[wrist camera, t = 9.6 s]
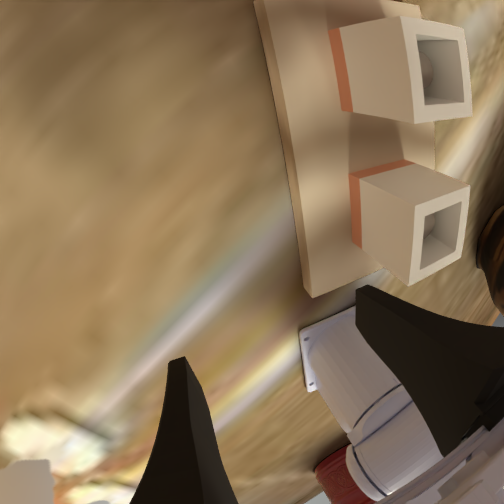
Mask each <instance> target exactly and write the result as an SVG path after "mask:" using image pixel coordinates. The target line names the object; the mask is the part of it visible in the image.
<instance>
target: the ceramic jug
mask: <svg viewBox="0 0 504 504" xmlns="http://www.w3.org/2000/svg"><path fill="white" fill-rule="evenodd" d="M476 263H477V268H479V269H482V270H483V271H484V273H485V276H486V280H487V283H488V287H489V291H490V294H491V298H492V300H493V302H494V304H495V306H496V307H497V308H498V309H499V311H500V312H501V313H502V315H503V316H504V205H503V206H502V207H500V208H499V209H497V210H496V211H495V213H494V214H493V216H492V217H491V219H490V221H489V222H488V224H487V226H486V227H485V229H484V231H483V232H482V234H481V236H480V238H479V245H478V252H477V256H476Z"/></svg>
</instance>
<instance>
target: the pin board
mask: <svg viewBox="0 0 504 504" xmlns="http://www.w3.org/2000/svg"><path fill="white" fill-rule="evenodd" d="M253 4H254V8H255V12H256V16H257V21H258V25H259V30H260V34H261V39H262V43H263V48H264V52H265V57H266V62H267V67H268V72H269V76H270V81H271V86H272V92H273V97H274V102H275V107H276V112H277V118H278V123H279V129H280V134H281V140H282V145H283V151H284V157H285V163H286V169H287V175H288V181H289V187H290V194H291V200H292V207H293V213H294V220H295V227H296V234H297V241H298V248H299V255H300V263H301V270H302V278H303V286H304V289H305V290H306V291H307V292H308V293H309V295H310V296H311V297H312V298H315V297H318V296H320V295H322V294H325V293H327V292H330V291H332V290H334V289H337V288H339V287H341V286H344V285H346V284H348V283H351V282H353V281H355V280H358V279H360V278H362V277H364V276H367V275H369V274H371V273H373V272H376V271H378V270H380V269H382V268H385V267H383V266H382V265H381V264H380V263H378V262H377V261H376V260H375V259H373V258H372V257H371V256H370V255H368V254H367V253H366V252H365V251H363V250H362V249H361V248H359V247H358V246H357V245H356V244H354V243H353V242H352V224H351V205H350V190H349V178H348V174H349V173H353V172H356V171H360V170H364V169H368V168H371V167H375V166H379V165H383V164H387V163H391V162H395V161H399V160H403V159H405V160H408V161H411V162H414V163H416V164H419V165H422V166H424V167H427V168H430V169H432V170H435V131H434V121H432V122H425V123H418V124H412V123H408V122H403V121H398V120H393V119H388V118H383V117H378V116H372V115H366V114H360V113H354V112H347V111H342V110H341V103H340V96H339V90H338V83H337V77H336V71H335V66H334V60H333V55H332V50H331V45H330V40H329V35H328V30H332V29H336V28H340V27H345V26H349V25H353V24H358V23H363V22H367V21H373V20H378V19H383V18H389V17H396V16H405V17H412V18H418V19H422V17H421V12H420V8H419V6H418V5H413V4H408V3H402V2H397V1H391V0H255V1H253ZM418 52H419V58H420V66H421V74H422V82H423V88H426V87H428V86H429V85H430V84H431V82H432V79H433V67H432V63H431V61H430V59H429V58H428V56H427V55H426V54H424V53H423V52H420V51H418ZM434 224H435V215H434V213H432V214H429V215H427V216H425V220H424V233H423V239H425V238H426V237H427V236H428V235H429V234H430V233H431V231H432V229H433V227H434Z"/></svg>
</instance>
